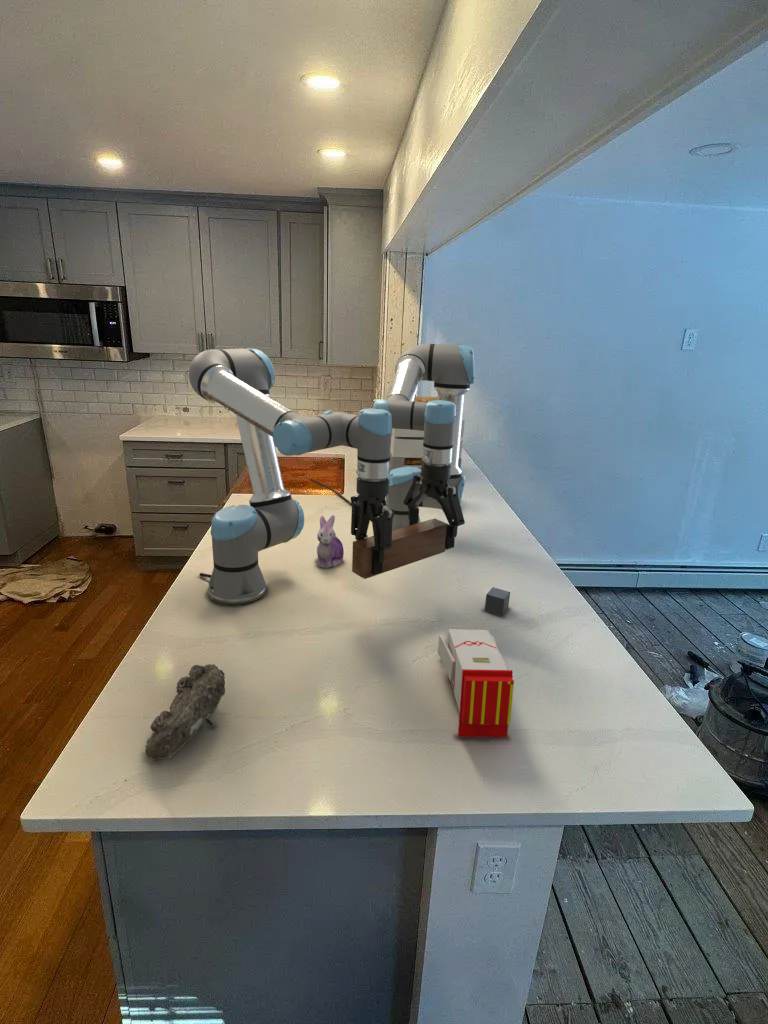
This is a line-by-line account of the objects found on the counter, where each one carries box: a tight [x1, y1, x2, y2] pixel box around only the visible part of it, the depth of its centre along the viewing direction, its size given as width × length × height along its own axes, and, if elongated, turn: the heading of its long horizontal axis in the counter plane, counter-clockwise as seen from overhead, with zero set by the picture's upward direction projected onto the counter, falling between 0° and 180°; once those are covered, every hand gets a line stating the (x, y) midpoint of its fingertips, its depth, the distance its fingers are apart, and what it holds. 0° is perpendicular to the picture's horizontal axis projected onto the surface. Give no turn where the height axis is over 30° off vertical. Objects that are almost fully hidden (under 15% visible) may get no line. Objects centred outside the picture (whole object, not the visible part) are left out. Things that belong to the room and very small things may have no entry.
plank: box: [351, 518, 449, 580], centre depth 144 cm, size 5×28×8 cm, turn 131°
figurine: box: [316, 514, 345, 568], centre depth 173 cm, size 9×10×15 cm
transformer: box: [390, 396, 465, 471], centre depth 268 cm, size 34×33×41 cm
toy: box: [437, 628, 515, 738], centre depth 117 cm, size 12×13×30 cm
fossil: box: [144, 663, 226, 761], centre depth 105 cm, size 22×10×15 cm
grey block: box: [484, 586, 511, 617], centre depth 151 cm, size 5×5×5 cm
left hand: (369, 568), depth 139 cm, fingers closed on plank, 5 cm apart
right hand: (430, 539), depth 152 cm, fingers open, 13 cm apart
